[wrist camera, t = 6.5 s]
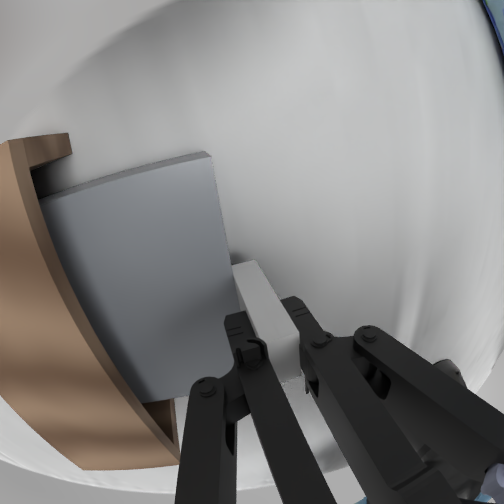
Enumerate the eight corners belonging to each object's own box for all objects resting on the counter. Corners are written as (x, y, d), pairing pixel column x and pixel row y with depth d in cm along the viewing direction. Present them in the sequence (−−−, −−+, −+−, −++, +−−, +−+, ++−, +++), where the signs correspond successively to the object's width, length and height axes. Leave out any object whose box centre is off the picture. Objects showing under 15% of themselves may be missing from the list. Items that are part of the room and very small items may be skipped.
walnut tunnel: (174, 399, 22) (181, 464, 16) (88, 411, 21) (83, 470, 15) (67, 132, 13) (7, 140, 7) (-34, 185, 11) (-95, 217, 5)
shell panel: (244, 347, 22) (255, 381, 19) (106, 375, 20) (101, 410, 17) (204, 150, 16) (211, 157, 12) (24, 204, 14) (-4, 224, 10)
